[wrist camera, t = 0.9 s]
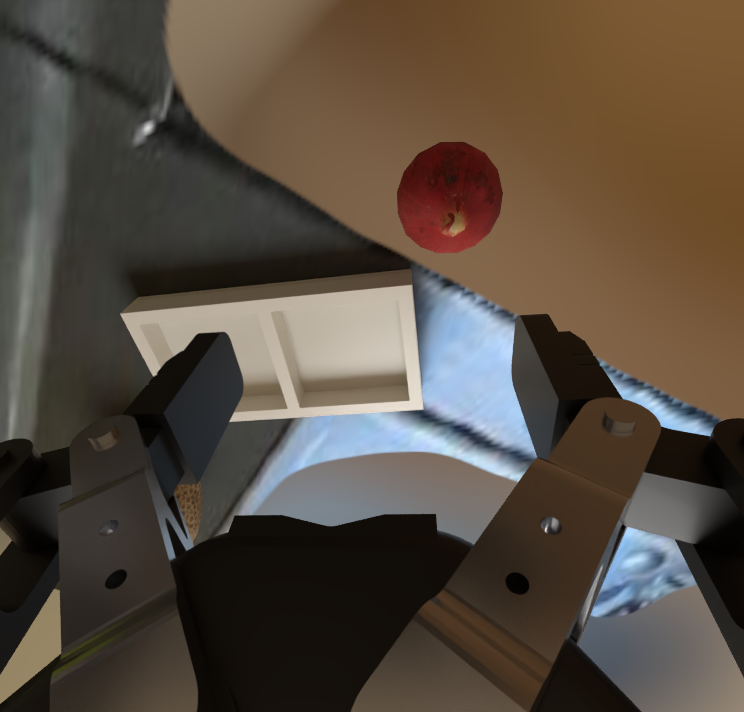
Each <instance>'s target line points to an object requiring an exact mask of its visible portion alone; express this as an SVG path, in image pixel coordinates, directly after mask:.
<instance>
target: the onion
mask: <svg viewBox="0 0 744 712" xmlns="http://www.w3.org/2000/svg"><path fill="white" fill-rule="evenodd" d="M502 195H503V192H502V188H501V183H500V178H499V173H498V170H497V168H496V167H495V166H494V164H493V163H492V162H491V160H490V159H489V158H488V156H487V155H486V154H485V153H484V152H482V151H480V150H478V149H476V148H475V147H472V146H471V145H469V144H467V143H465V142H440V143H438V144H436V145H434V146H432V147H431V148H428V149H427V150H425V151H423V152H421V153H419V154H418V155H417V156H416V157H415V159H414V160H413V161H412V162H411V164H410V165H409V166H408V167H407V169H406V170H405V171H404V173H403V176H402V179H401V182H400V185H399V188H398V191H397V201H398V215H399V218H400V220H401V223H402V225H403V228H404V230H405V233H406V235H407V236H409V237H410V238H411V239H412V240H413V241H414V242H415V243H417V244H418V245H419V246H420V247H422V248H425V249H428V250H431V251H433V252H436V253H457V252H460V251H463V250H465V249H467V248H470V247H472V246H475V245H476V244H477V243H478V242H480V241H481V240H482V239H483V238H484V237H485V236H487V235H488V234H489V233H490V231H491V229H492V228H493V226H494V224H495V222H496V220H497V218H498V217H499V214H500V209H501V202H502Z"/></svg>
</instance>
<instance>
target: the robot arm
mask: <svg viewBox="0 0 744 712" xmlns="http://www.w3.org/2000/svg"><path fill="white" fill-rule="evenodd" d="M512 381H513V386H514V389H515V392H516V395H517V398H518V401H519V404H520V407H521V410H522V413H523V416H524V419H525V422H526V425H527V428H528V431H529V434H530V437H531V440H532V443H533V446H534V449H535V452H536V455H537V458H536V459H535V460H534V461H533V463H532V464H531V465H530V467H529V468H528V469H527V471H526V472H525V474H524V475H523V476H522V478H521V479H520V481H519V482H518V484H517V485H516V486H515V488H514V489H513V491H512V492H511V494H510V495H509V496H508V498H507V499H506V501H505V502H504V504H503V505H502V506H501V508H500V509H499V511H498V512H497V513H496V515H495V516H494V518H493V519H492V520H491V522H490V523H489V525H488V526H487V528H486V529H485V530H484V532H483V533H482V535H481V536H480V537H479V539H478V540H477V542H476V543H475V544H474V545H473V544H472V543H470V542H468V541H466V540H464V539H462V538H460V537H457V536H454V535H451V534H449V533H446V532H442V531H438V530H437V523H436V514H398V515H397V514H393V515H391V514H387V515H386V514H385V515H380V516H376V517H372V518H367V519H363V520H359V521H355V522H350V523H346V524H342V525H338V526H331V527H330V526H324V525H320V524H316V523H312V522H308V521H304V520H300V519H295V518H291V517H287V516H283V515H259V516H258V515H248V516H234V519H233V522H232V524H231V527H230V529H229V532H228V533H224V534H221V535H219V536H216V537H213V538H210V539H208V540H206V541H204V542H202V543H199V544H198V545H196V546H193V543H192V540H191V537H190V534H189V531H188V528H187V525H186V522H185V519H184V516H183V513H182V510H181V507H180V505H179V502H178V499H177V497H176V495H175V493H174V491H175V489H176V488H177V486H178V485H186V484H198V483H199V481H200V479H201V477H202V475H203V473H204V471H205V469H206V467H207V465H208V463H209V461H210V459H211V457H212V455H213V453H214V451H215V449H216V447H217V445H218V443H219V441H220V439H221V437H222V435H223V433H224V431H225V429H226V427H227V425H228V423H229V421H230V419H231V417H232V415H233V413H234V411H235V409H236V407H237V406H238V404H239V402H240V400H241V397H242V395H243V389H244V382H243V376H242V373H241V370H240V367H239V364H238V361H237V358H236V355H235V352H234V348H233V345H232V342H231V339H230V337H229V335H228V334H227V333H226V332H210V333H198V334H197V335H196V336H195V337H194V338H193V339H192V341H191V342H190V343H189V344H188V346H187V347H186V348H185V349H184V351H181V352H179V353H178V354H176V355H175V356H173V357H172V358H171V359H169V360H168V361H166V362H165V364H164V365H163V366H162V367H161V368H160V370H159V371H158V372H157V375H155V376H154V377H153V378H152V379H151V380H150V382H149V385H146V387H145V388H144V389H143V390H142V391H141V393H140V394H139V395H138V396H137V397H136V399H135V400H134V401H133V402H132V403H131V405H130V406H129V407H128V408H127V410H126V411H125V412H124V413H123V414H122V415H115V416H110V417H107V418H104V419H101V420H99V421H96V422H94V423H92V424H91V425H89V426H87V427H86V428H84V429H83V430H82V431H80V432H79V433H78V434H77V435H76V436H75V438H74V439H73V440H72V442H71V444H70V446H69V447H66V448H62V449H58V450H54V451H50V452H46V453H42V454H40V453H39V452H38V450H37V449H36V447H35V446H34V445H33V443H32V442H31V441H30V440H27V439H12V440H8V441H4V442H1V443H0V528H1V529H2V530H3V531H4V532H5V533H6V534H7V535H8V536H9V537H10V538H11V540H12V541H11V543H10V544H9V545H8V547H7V548H6V549H5V550H4V552H3V553H2V554H1V555H0V674H1V673H2V671H3V669H4V668H5V666H6V665H7V663H8V661H9V660H10V658H11V657H12V655H13V653H14V652H15V650H16V648H17V647H18V645H19V644H20V642H21V641H22V639H23V637H24V636H25V634H26V633H27V631H28V629H29V628H30V626H31V624H32V623H33V621H34V620H35V618H36V617H37V615H38V613H39V612H40V610H41V608H42V607H43V605H44V604H45V602H46V601H47V599H48V597H49V596H50V594H51V592H52V591H53V589H54V588H55V586H56V585H57V583H58V581H59V580H60V614H61V648H62V649H61V654H60V655H59V656H58V657H56V658H55V659H54V660H53V661H52V662H50V663H49V664H48V665H47V666H46V667H44V668H43V669H42V670H41V671H40V672H38V673H37V674H36V675H35V676H34V677H32V678H31V679H30V680H29V681H28V682H26V683H25V684H24V685H23V686H22V687H20V688H19V689H18V690H17V691H16V692H14V693H13V694H12V695H11V696H9V697H8V698H7V699H6V700H5V701H3V702H2V703H1V704H0V712H641V711H640V710H639V709H638V708H637V707H636V706H635V705H634V703H633V702H632V701H631V700H630V699H629V698H628V697H627V696H626V695H625V694H624V693H623V692H622V691H621V690H620V689H619V688H618V687H617V686H616V685H615V684H614V683H613V682H612V681H611V680H610V679H609V677H608V676H607V675H606V674H605V673H604V672H603V671H602V670H601V669H600V668H599V667H598V666H597V665H596V664H595V663H594V662H593V661H592V660H591V659H590V658H589V657H588V656H587V655H586V654H585V653H584V652H583V650H582V649H581V648H580V647H579V646H578V643H579V641H580V639H581V637H582V634H583V632H584V629H585V627H586V624H587V622H588V619H589V617H590V614H591V612H592V609H593V607H594V604H595V601H596V599H597V596H598V594H599V592H600V589H601V587H602V584H603V582H604V580H605V578H606V575H607V573H608V571H609V568H610V566H611V564H612V561H613V559H614V557H615V554H616V552H617V550H618V547H619V545H620V543H621V540H622V538H623V536H624V533H625V531H626V529H627V527H631V528H634V529H638V530H642V531H646V532H650V533H654V534H657V535H661V536H665V537H669V538H673V539H675V541H676V543H677V545H678V547H679V549H680V551H681V553H682V555H683V557H684V559H685V561H686V563H687V565H688V567H689V569H690V571H691V573H692V575H693V577H694V579H695V581H696V583H697V585H698V587H699V589H700V590H701V593H702V594H703V597H704V599H705V601H706V603H707V605H708V607H709V609H710V611H711V613H712V614H713V617H714V618H715V621H716V623H717V624H718V627H719V628H720V631H721V633H722V635H723V637H724V639H725V641H726V642H727V645H728V647H729V649H730V651H731V653H732V655H733V657H734V659H735V661H736V663H737V665H738V667H739V668H740V671H741V673H742V675H743V677H744V419H741V418H736V419H727V420H724V421H721V422H719V423H718V424H717V425H716V426H715V427H714V429H713V431H712V434H711V436H705V435H699V434H694V433H688V432H682V431H677V430H672V429H667V428H664V427H661V425H660V422H659V421H658V419H657V417H656V416H655V415H654V414H653V413H652V412H650V411H649V410H648V409H646V408H644V407H643V406H641V405H639V404H637V403H634V402H631V401H628V400H625V399H623V398H622V397H621V395H620V394H619V392H618V391H617V389H616V388H615V386H614V385H613V383H612V382H611V380H610V379H609V377H608V376H607V374H606V373H605V371H604V370H603V368H602V367H601V366H600V363H599V362H598V360H597V359H596V357H595V356H593V353H592V351H591V350H590V348H589V347H588V345H587V344H586V342H585V341H584V340H582V339H580V338H579V337H578V336H576V335H575V334H573V333H571V332H570V331H567V332H566V331H565V332H558V330H557V328H556V327H555V325H554V323H553V322H552V320H551V318H550V316H549V315H548V314H536V315H519V316H517V318H516V323H515V333H514V344H513V355H512Z"/></svg>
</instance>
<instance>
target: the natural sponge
mask: <svg viewBox="0 0 744 712" xmlns="http://www.w3.org/2000/svg"><path fill="white" fill-rule="evenodd" d="M174 493H175V495H176V497H177V499H178V502H179V505H180V507H181V510H182V513H183V516H184V519H185V522H186V525H187V528H188V531H189V534H190V537H191V540H192V541H193V540H194V538H195V537H196V535H197V532H198V530H199V526H200V520H201V513H202V501H203V500H202V490H201V480H200V481H199V483H198V484H186V485H178V486H177V488H176V489H175V491H174Z"/></svg>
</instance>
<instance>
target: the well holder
mask: <svg viewBox="0 0 744 712" xmlns="http://www.w3.org/2000/svg"><path fill="white" fill-rule="evenodd" d="M120 315H121V316H122V318H123V320H124V322H125V324H126V326H127V328H128V330H129V332H130V333H131V335H132V337H133V339H134V341H135V343H136V345H137V347H138V349H139V350H140V352H141V354H142V356H143V358H144V360H145V362H146V364H147V366H148V367H149V369H150V371H151V373H152V375H153V377H154V376H155V375H157V372H158V371H159V370H160V368H161V367H162V366H163V365H164V364H165V362H166V361H168V360H169V359H171V358H172V357H173V356H175V355H176V354H178V353H179V352H181V351H184V349H185V348H186V347H187V346H188V344H189V343H190V342H191V341H192V339H193V338H194V337H195V336H196V335H197V334H198V333H210V332H226V333H227V334H228V335H229V337H230V339H231V342H232V345H233V348H234V352H235V355H236V358H237V361H238V364H239V367H240V370H241V373H242V376H243V382H244V389H243V395H242V397H241V400H240V402H239V404H238V406H237V407H236V409H235V411H234V413H233V415H232V417H231V419H230V421H229V422H234V421H249V420H265V419H281V418H297V417H312V416H328V415H344V414H360V413H375V412H391V411H407V410H423V397H422V383H421V372H420V361H419V350H418V339H417V328H416V317H415V306H414V295H413V284H412V273H411V269H405V270H395V271H386V272H376V273H366V274H357V275H347V276H338V277H328V278H318V279H309V280H299V281H289V282H280V283H270V284H260V285H251V286H241V287H232V288H222V289H212V290H203V291H193V292H183V293H174V294H164V295H155V296H145V297H138V298H137V299H136V300H135V301H133V302H132V303H131V304H130V305H129V306H128V307H127V308H126V309H125V310H124V311H123V312H121V313H120Z"/></svg>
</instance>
